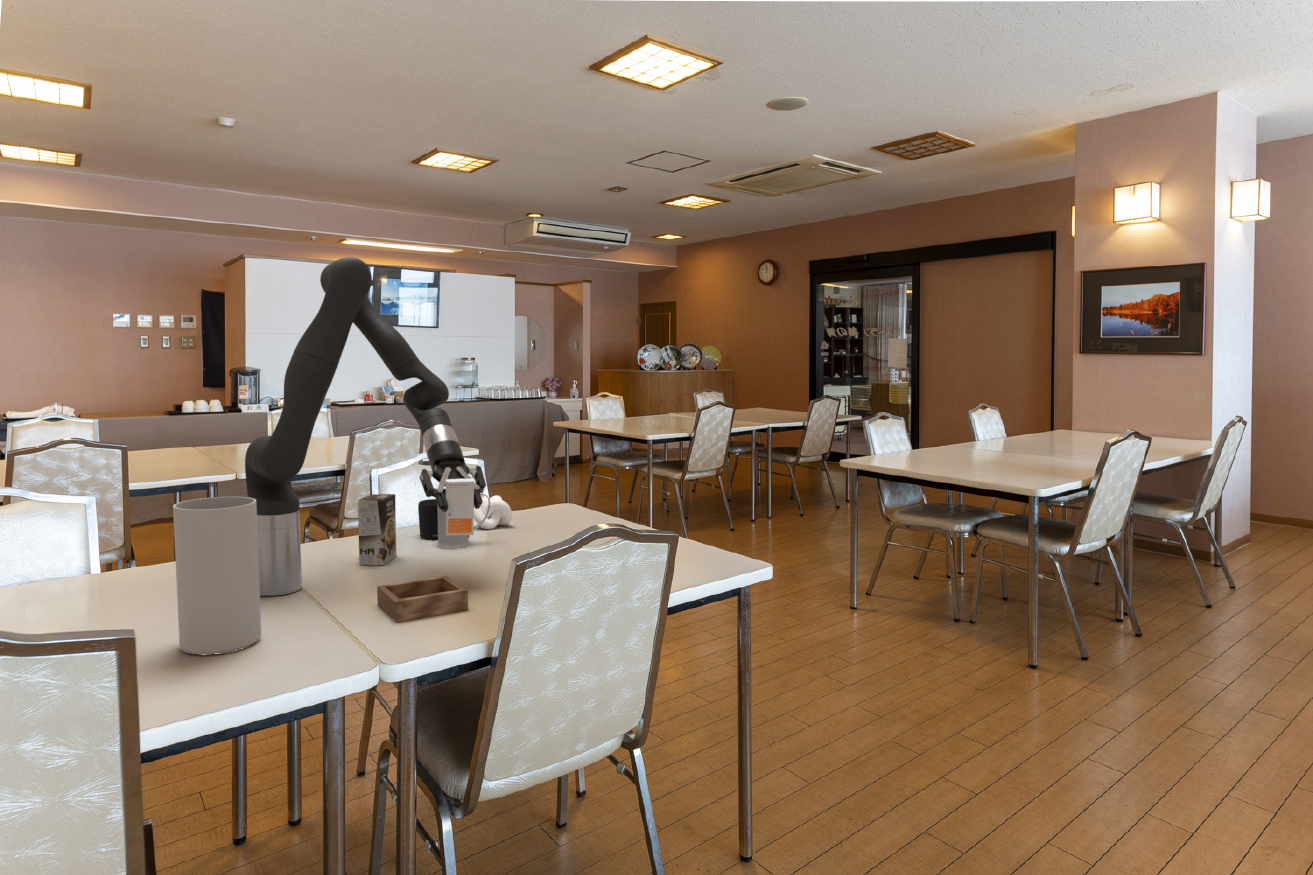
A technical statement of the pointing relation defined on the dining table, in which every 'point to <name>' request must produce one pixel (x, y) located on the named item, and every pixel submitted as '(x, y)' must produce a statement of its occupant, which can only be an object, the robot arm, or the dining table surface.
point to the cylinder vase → (217, 574)
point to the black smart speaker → (428, 519)
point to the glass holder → (453, 540)
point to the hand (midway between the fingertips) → (462, 508)
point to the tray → (422, 598)
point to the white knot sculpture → (493, 513)
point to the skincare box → (459, 507)
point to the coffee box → (377, 529)
